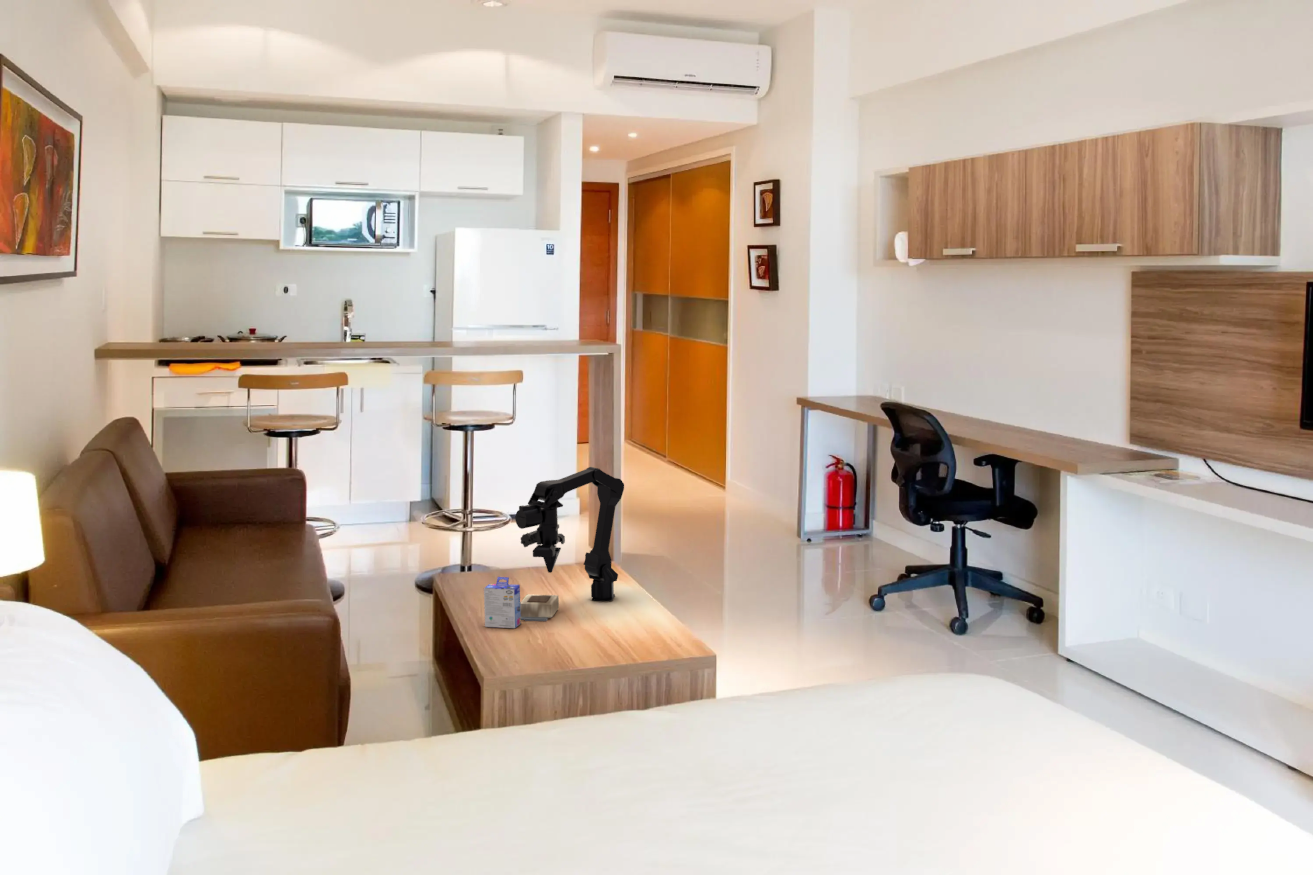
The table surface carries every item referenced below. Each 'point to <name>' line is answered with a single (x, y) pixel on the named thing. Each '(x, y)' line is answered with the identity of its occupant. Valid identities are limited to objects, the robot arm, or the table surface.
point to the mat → (534, 618)
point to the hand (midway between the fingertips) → (550, 572)
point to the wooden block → (539, 605)
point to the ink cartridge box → (502, 604)
